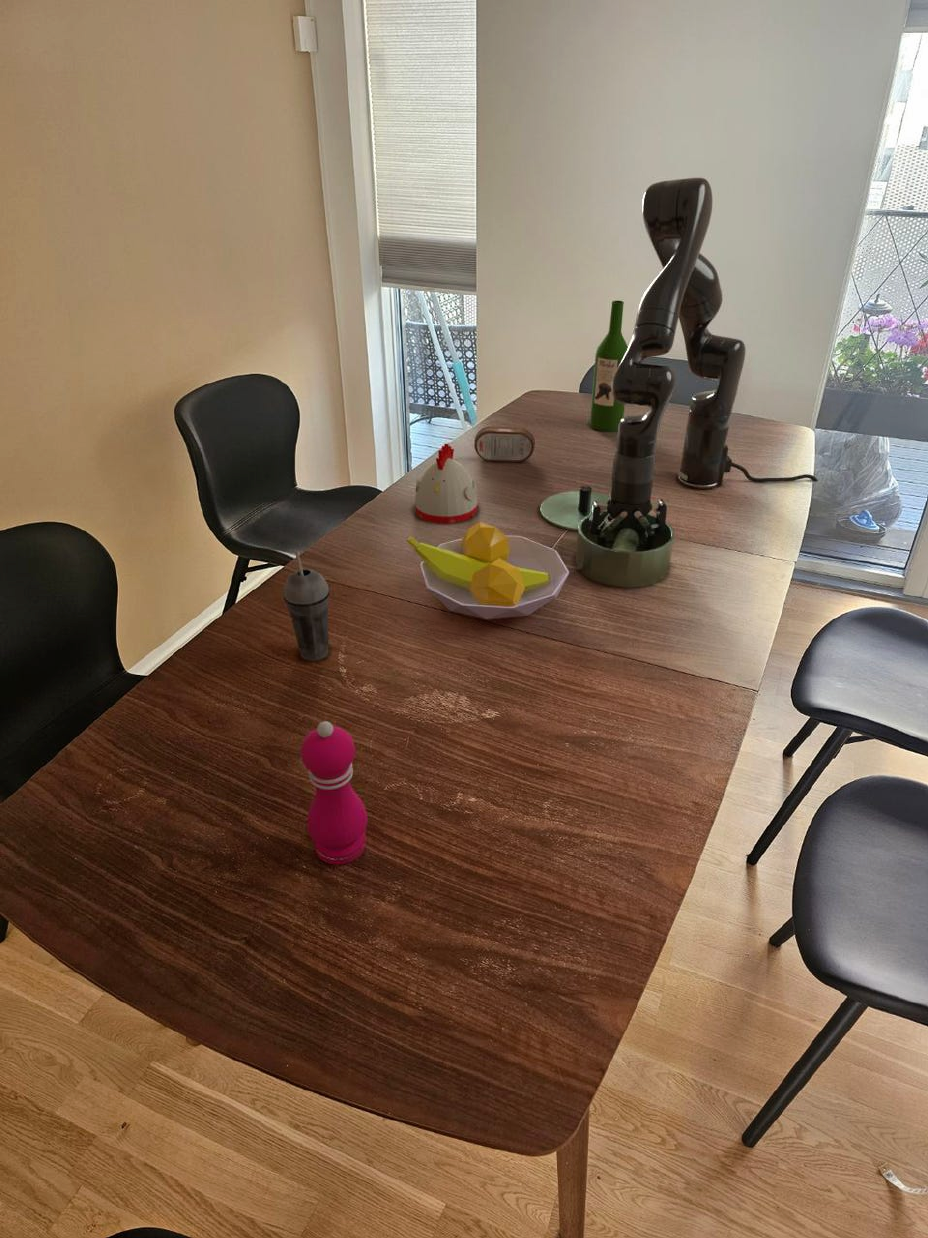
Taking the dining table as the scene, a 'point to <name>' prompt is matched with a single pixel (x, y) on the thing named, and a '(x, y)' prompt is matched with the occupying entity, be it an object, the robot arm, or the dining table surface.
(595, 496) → the lid
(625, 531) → the vegetable
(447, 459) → the kitchen timer
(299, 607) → the beverage cup
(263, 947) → the dining table surface
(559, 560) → the fruit bowl
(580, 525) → the green open cylinder
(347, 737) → the pepper mill
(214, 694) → the dining table surface
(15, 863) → the dining table surface
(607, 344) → the wine bottle
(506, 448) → the tin
